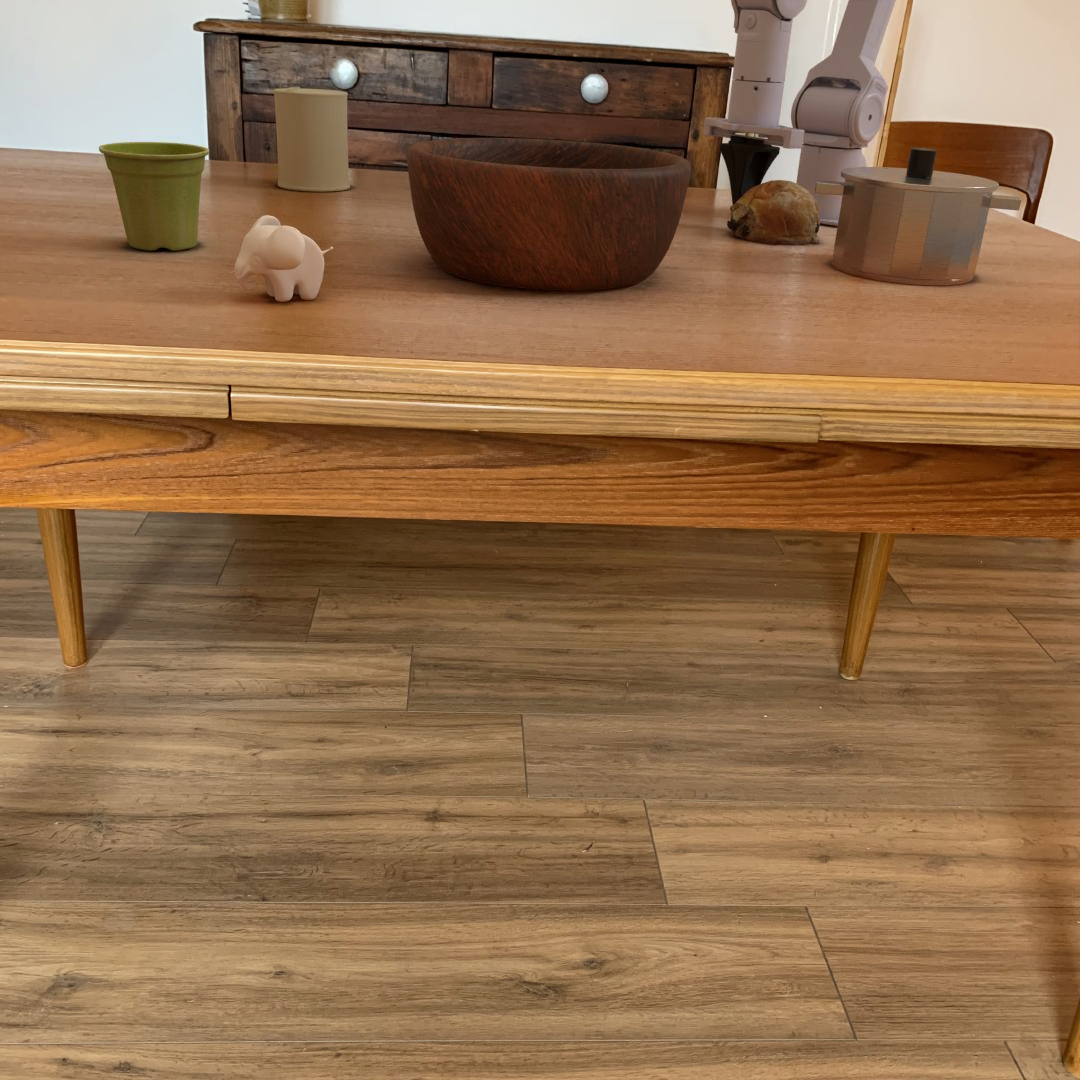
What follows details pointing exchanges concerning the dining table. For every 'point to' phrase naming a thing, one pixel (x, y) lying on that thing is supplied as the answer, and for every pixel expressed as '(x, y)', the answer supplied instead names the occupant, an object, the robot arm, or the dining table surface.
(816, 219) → the bread roll
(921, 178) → the pot lid
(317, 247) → the elephant figurine
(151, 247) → the plant pot
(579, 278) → the wooden bowl
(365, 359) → the dining table surface
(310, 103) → the can
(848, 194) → the pot
